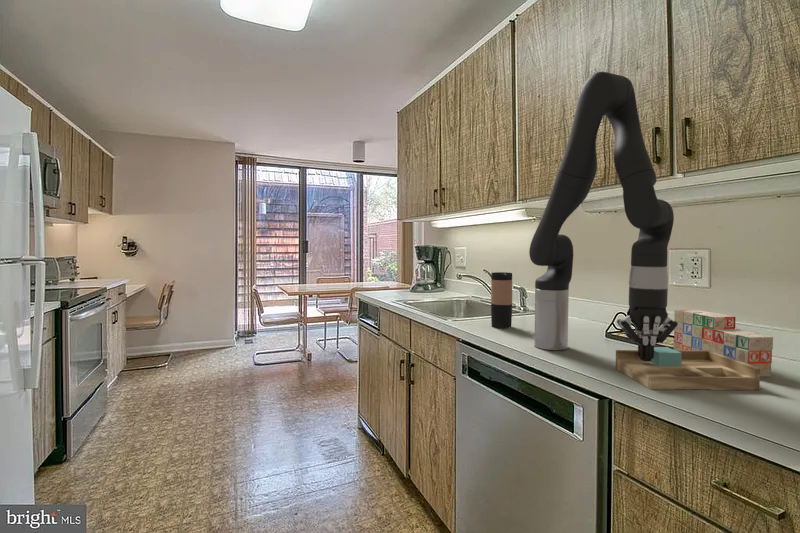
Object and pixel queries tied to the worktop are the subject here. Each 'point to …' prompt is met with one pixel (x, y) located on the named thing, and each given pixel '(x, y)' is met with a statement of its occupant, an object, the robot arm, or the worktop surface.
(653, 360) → the block
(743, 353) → the stack of blocks
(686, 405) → the worktop surface
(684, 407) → the worktop surface
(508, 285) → the travel mug
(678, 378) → the board
